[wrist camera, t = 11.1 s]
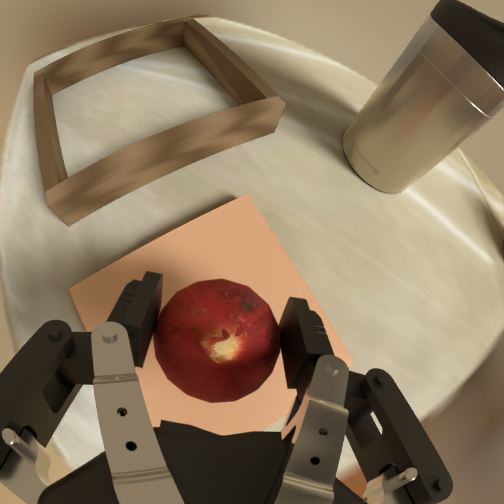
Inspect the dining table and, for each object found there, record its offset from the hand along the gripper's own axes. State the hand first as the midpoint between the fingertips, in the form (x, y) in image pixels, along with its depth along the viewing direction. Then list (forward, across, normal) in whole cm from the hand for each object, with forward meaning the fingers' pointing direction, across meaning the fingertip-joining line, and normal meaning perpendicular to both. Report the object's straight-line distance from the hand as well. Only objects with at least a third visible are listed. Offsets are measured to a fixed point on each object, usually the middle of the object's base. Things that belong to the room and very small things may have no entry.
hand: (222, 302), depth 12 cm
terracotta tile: (+4, 0, +6) cm, 7 cm away
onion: (+2, 0, +4) cm, 5 cm away
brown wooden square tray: (+18, +12, -8) cm, 23 cm away
